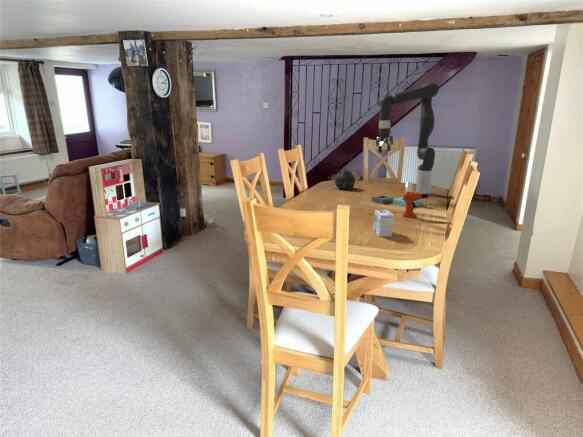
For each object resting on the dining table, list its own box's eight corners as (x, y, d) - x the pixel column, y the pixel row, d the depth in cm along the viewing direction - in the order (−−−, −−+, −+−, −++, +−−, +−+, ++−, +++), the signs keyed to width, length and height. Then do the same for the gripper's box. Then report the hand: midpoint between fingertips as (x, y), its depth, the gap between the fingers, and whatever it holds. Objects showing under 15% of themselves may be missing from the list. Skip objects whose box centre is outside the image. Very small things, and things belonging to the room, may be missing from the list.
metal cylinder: (406, 203, 264) (408, 181, 261) (411, 204, 261) (413, 182, 258) (402, 204, 262) (404, 182, 258) (407, 205, 259) (409, 183, 255)
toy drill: (437, 217, 226) (437, 190, 222) (402, 219, 231) (401, 193, 228) (437, 215, 230) (436, 189, 227) (402, 216, 236) (401, 191, 232)
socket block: (381, 199, 275) (381, 194, 274) (393, 202, 267) (393, 197, 266) (371, 201, 269) (371, 196, 268) (382, 204, 261) (383, 199, 261)
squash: (342, 178, 319) (337, 165, 308) (360, 181, 310) (355, 168, 299) (335, 192, 313) (329, 180, 302) (352, 196, 305) (347, 183, 294)
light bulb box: (372, 230, 207) (374, 209, 204) (385, 230, 207) (387, 209, 204) (379, 237, 197) (380, 215, 194) (392, 236, 197) (394, 215, 194)
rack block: (405, 201, 270) (406, 196, 270) (422, 204, 260) (422, 200, 260) (392, 203, 263) (393, 199, 262) (409, 207, 253) (409, 203, 252)
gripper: (381, 128, 267) (381, 153, 271) (396, 126, 275) (395, 151, 279) (373, 128, 273) (373, 152, 277) (387, 126, 281) (387, 150, 285)
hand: (384, 151), depth 278 cm, fingers open, 8 cm apart
